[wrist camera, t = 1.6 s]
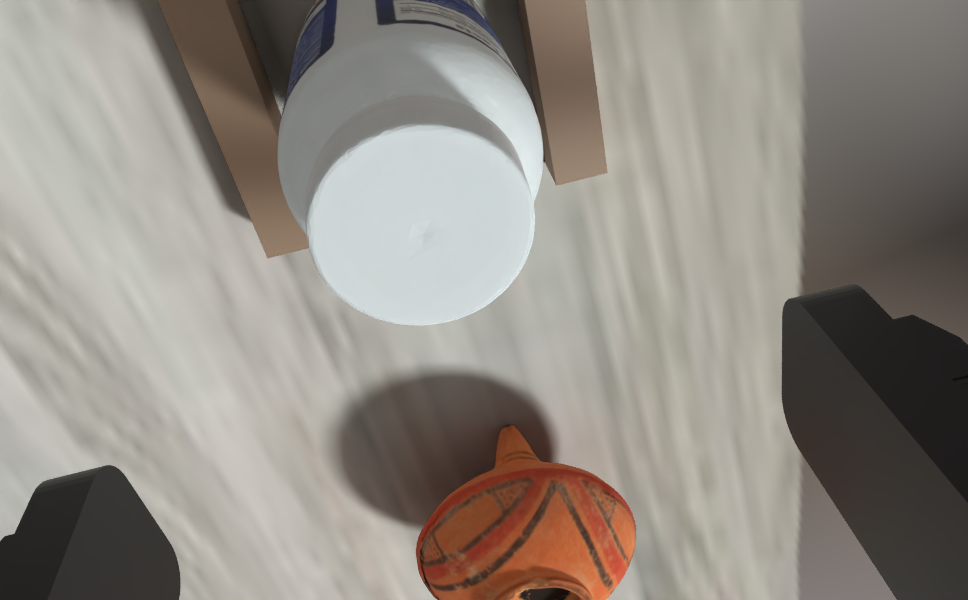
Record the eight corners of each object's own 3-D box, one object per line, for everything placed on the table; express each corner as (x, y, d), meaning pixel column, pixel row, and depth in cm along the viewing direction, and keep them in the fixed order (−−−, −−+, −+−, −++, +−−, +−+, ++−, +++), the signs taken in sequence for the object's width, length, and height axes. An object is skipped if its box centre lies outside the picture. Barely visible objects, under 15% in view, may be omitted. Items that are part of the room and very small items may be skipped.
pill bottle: (357, 184, 24) (358, 399, 15) (257, 14, 21) (194, 170, 12) (524, 107, 23) (616, 288, 15) (446, -80, 20) (508, 20, 12)
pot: (653, 416, 30) (701, 592, 25) (562, 515, 35) (588, 676, 31) (454, 380, 27) (468, 569, 23) (387, 492, 33) (387, 665, 28)
